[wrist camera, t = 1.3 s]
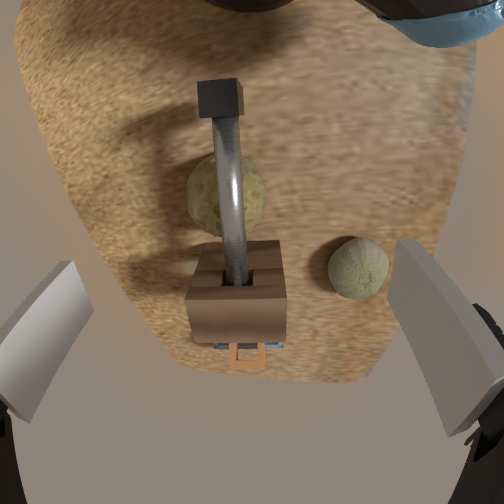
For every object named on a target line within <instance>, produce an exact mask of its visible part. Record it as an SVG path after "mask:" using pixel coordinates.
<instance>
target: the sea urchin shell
mask: <svg viewBox="0 0 504 504" xmlns="http://www.w3.org/2000/svg"><path fill="white" fill-rule="evenodd" d="M327 266H328V278H329V280H330V281H331V284H332V286H333V287H334V289H335V290H336V291H337V292H338V293H339V295H341V296H343V297H345V298H350V299H359V298H366V297H367V296H370V295H373V294H374V293H375V292H377V291H378V289H379V288H380V287H381V285H382V284H383V282H384V279H385V277H386V275H387V272H388V266H389V261H388V256H387V254H386V252H385V251H384V250H383V248H382V247H380V245H378V244H376V243H375V242H373V241H372V240H369V239H365V238H362V237H360V238H354V239H352V240H350V241H348V242H345V243H344V244H343V245H342V246H341V247H339V248H338V249H337V250H335V252H334V253H333V255H332V256H331V257H330V259H329V262H328V265H327Z"/></svg>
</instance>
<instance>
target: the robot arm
mask: <svg viewBox="0 0 504 504" xmlns="http://www.w3.org/2000/svg"><path fill="white" fill-rule="evenodd" d="M206 1H208V2H209V3H211V4H213V5H215V6H218V7H220V8H224V9H227V10H232V11H238V12H260V11H267V10H271V9H275V8H278V7H281V6H284V5H286V4H288V3H290V2H292V1H293V0H206ZM355 1H357V2H358V3H360V4H361V5H363V6H364V7H366V8H367V9H369V10H370V11H372V12H373V13H374V14H376V16H377V18H379V19H380V20H382V21H383V22H386V23H389V24H391V25H392V26H394V27H395V28H396V29H398V30H399V31H400V32H402V33H403V34H404V35H406V36H407V37H408V38H410V39H411V40H412V41H414V42H416V43H418V44H420V45H423V46H428V47H435V48H448V47H454V46H459V45H463V44H466V43H469V42H472V41H474V40H477V39H479V38H481V37H483V36H485V35H488V34H489V33H491V32H493V31H494V30H496V29H497V28H498V27H500V26H501V25H502V24H503V23H504V21H503V19H504V0H355ZM387 300H388V302H389V304H390V305H391V307H392V309H393V311H394V313H395V315H396V317H397V319H398V321H399V323H400V325H401V327H402V329H403V331H404V333H405V335H406V337H407V339H408V341H409V344H410V346H411V348H412V350H413V352H414V355H415V357H416V359H417V361H418V363H419V366H420V368H421V370H422V373H423V375H424V377H425V380H426V382H427V384H428V387H429V389H430V391H431V394H432V397H433V399H434V402H435V404H436V407H437V410H438V412H439V415H440V418H441V420H442V423H443V426H444V429H445V432H446V435H447V437H451V436H453V435H456V434H458V433H461V432H463V431H466V430H468V429H469V428H470V427H471V426H472V424H473V423H474V422H475V421H476V420H477V419H478V421H479V424H480V427H479V428H478V429H477V430H476V431H475V432H474V433H473V434H472V435H471V436H470V437H469V438H468V439H467V440H466V442H465V443H464V445H468V444H469V443H470V442H471V441H472V440H473V439H474V440H473V443H472V445H471V446H470V447H471V449H470V452H469V455H468V458H467V460H466V463H465V466H464V468H463V471H462V473H461V476H460V478H459V480H458V483H457V485H456V487H455V490H454V492H453V494H452V496H451V498H450V500H449V502H448V504H504V335H503V332H502V330H501V329H500V327H499V326H497V325H496V322H495V321H494V319H493V318H492V317H491V315H490V314H489V313H488V312H487V311H486V310H485V309H483V308H482V307H481V306H479V305H478V304H471V303H470V302H469V300H468V299H467V298H466V296H465V295H464V294H463V293H462V291H461V290H460V289H459V288H458V286H457V285H456V284H455V283H454V282H453V280H452V279H451V278H450V277H449V276H448V274H447V273H446V272H445V271H444V270H443V269H442V267H441V266H440V265H439V264H438V263H437V262H436V261H435V259H434V258H433V257H432V256H431V255H430V254H429V253H428V252H427V251H426V249H425V248H424V247H423V246H422V245H421V244H420V243H419V242H418V241H417V240H416V239H415V238H400V239H397V245H396V251H395V258H394V264H393V269H392V275H391V280H390V285H389V290H388V295H387ZM93 312H94V309H93V307H92V304H91V302H90V300H89V298H88V295H87V293H86V291H85V289H84V287H83V284H82V282H81V279H80V277H79V275H78V272H77V269H76V267H75V264H74V262H73V260H69V261H61V262H60V263H59V264H58V265H57V266H56V267H55V268H54V269H53V270H52V271H51V272H50V273H49V274H48V275H47V276H46V277H45V278H44V279H43V280H42V281H41V282H40V283H39V284H38V285H37V287H36V288H35V289H34V290H33V291H32V292H31V293H30V294H29V295H28V296H27V298H26V299H25V300H24V301H23V302H22V303H21V304H20V305H19V307H18V308H17V309H16V310H15V311H14V312H13V314H12V315H11V316H10V317H9V318H8V320H7V321H6V322H5V323H4V325H3V326H2V327H1V328H0V504H27V501H26V498H25V494H24V491H23V487H22V483H21V479H20V475H19V469H18V464H17V459H16V453H15V447H14V440H13V432H12V423H11V417H10V415H9V414H8V413H7V412H6V411H7V409H8V408H9V409H10V410H11V411H12V412H13V413H14V414H15V415H16V416H17V417H18V418H20V419H22V420H24V421H26V422H28V423H30V422H31V419H32V417H33V415H34V413H35V411H36V409H37V407H38V405H39V403H40V401H41V400H42V397H43V396H44V394H45V392H46V390H47V388H48V386H49V384H50V383H51V381H52V379H53V377H54V375H55V374H56V372H57V370H58V368H59V367H60V365H61V363H62V361H63V360H64V358H65V356H66V355H67V353H68V351H69V350H70V348H71V346H72V344H73V343H74V342H75V340H76V338H77V337H78V335H79V333H80V332H81V330H82V329H83V327H84V325H85V324H86V323H87V321H88V319H89V318H90V316H91V315H92V313H93Z"/></svg>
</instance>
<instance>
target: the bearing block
mask: <svg viewBox="0 0 504 504" xmlns="http://www.w3.org/2000/svg"><path fill="white" fill-rule="evenodd" d="M246 244H247V259H248V275H249V286H227V279H226V270H225V261H224V252H223V242H213V243H206V244H205V246H204V249H203V251H202V254H201V257H200V259H199V262H198V265H197V267H196V270H195V273H194V275H193V278H192V281H191V283H190V286H189V289H188V292H187V294H186V297H185V304H186V308H187V313H188V317H189V321H190V326H191V330H192V334H193V338H194V342H195V343H271V342H286V313H287V295H286V287H285V279H284V272H283V264H282V257H281V249H280V242H279V240H271V241H246Z"/></svg>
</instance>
